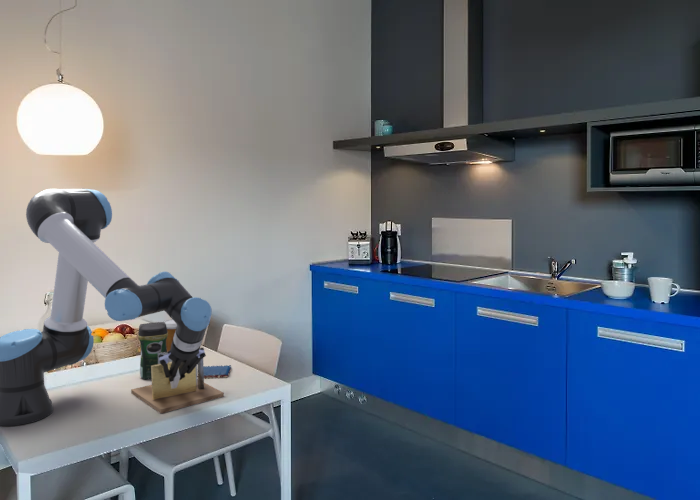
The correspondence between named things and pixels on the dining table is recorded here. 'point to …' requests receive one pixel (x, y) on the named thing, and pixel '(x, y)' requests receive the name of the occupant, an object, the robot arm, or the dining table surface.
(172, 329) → the disposable coffee cup
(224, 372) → the woven mat
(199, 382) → the steel leaf and pin
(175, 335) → the robot arm
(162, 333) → the coffee jar
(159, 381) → the panel
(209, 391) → the walnut board
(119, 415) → the dining table surface
